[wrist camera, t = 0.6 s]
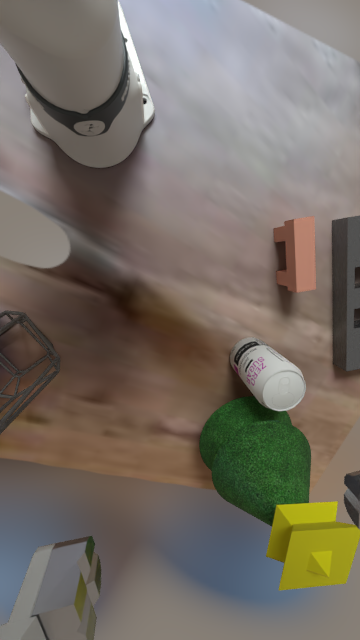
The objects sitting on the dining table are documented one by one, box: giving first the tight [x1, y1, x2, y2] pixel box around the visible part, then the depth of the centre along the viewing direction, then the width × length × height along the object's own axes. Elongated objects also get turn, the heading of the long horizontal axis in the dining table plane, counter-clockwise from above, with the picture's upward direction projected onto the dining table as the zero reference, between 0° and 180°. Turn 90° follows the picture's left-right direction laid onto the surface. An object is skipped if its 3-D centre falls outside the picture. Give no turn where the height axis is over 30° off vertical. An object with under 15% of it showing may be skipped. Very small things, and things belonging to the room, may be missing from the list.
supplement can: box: [230, 337, 306, 411], centre depth 48 cm, size 8×8×15 cm
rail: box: [332, 216, 360, 371], centre depth 53 cm, size 30×8×4 cm, turn 9°
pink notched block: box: [274, 216, 316, 293], centre depth 47 cm, size 12×4×7 cm, turn 9°
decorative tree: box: [199, 396, 360, 590], centre depth 44 cm, size 19×19×30 cm
